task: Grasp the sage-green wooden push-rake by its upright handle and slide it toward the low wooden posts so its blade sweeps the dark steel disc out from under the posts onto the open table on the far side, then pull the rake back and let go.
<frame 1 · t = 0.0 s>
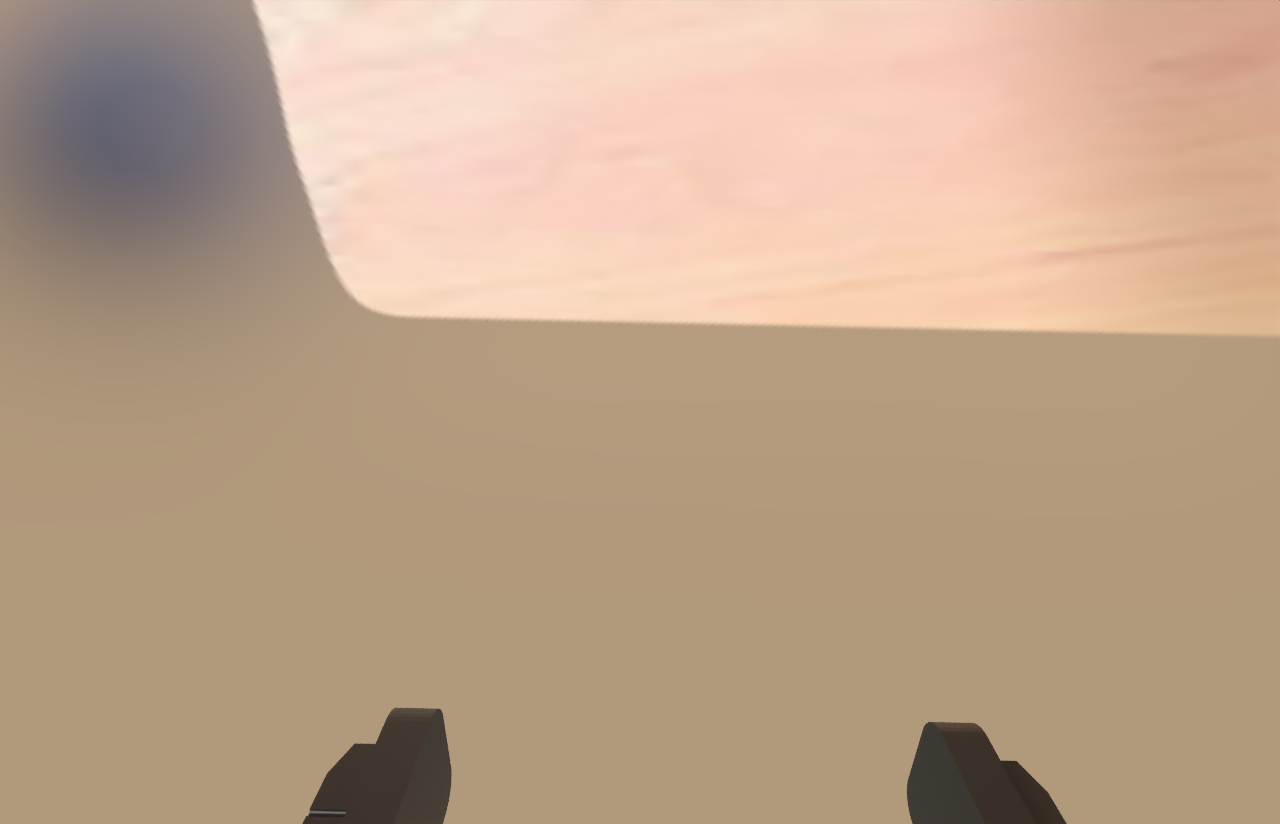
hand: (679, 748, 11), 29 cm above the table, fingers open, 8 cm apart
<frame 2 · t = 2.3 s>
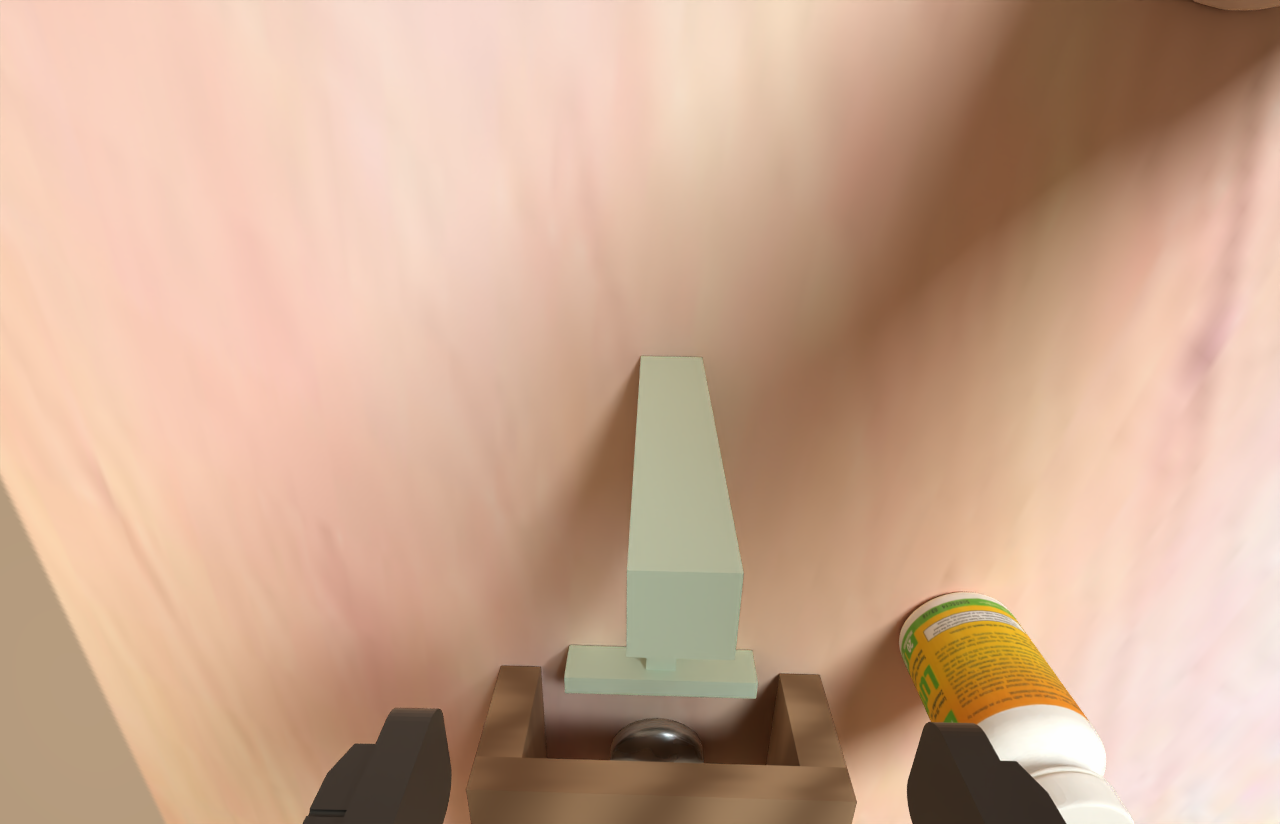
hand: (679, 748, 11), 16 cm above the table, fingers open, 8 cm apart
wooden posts: (657, 732, 34), on the table
rake: (670, 384, 25), on the table
token: (656, 746, 35), on the table
supplement bottle: (951, 629, 31), on the table
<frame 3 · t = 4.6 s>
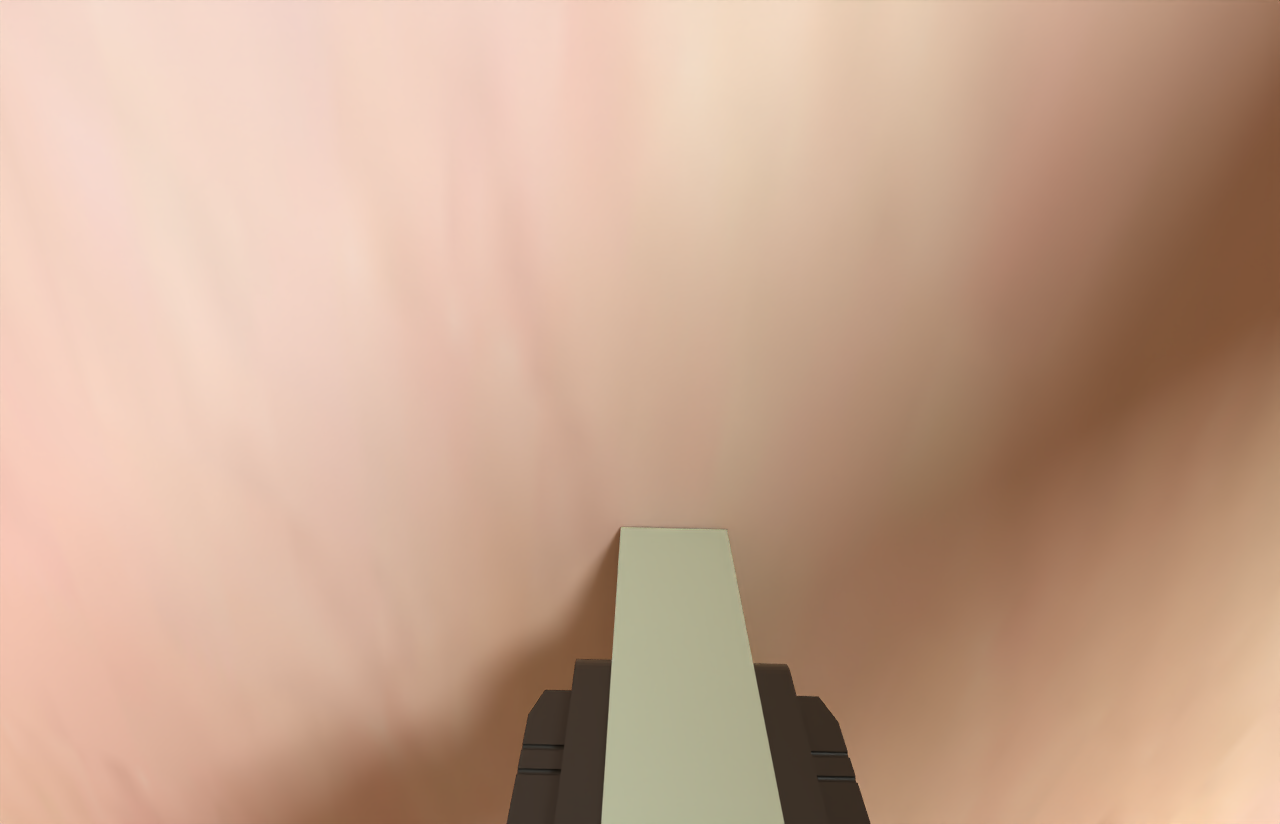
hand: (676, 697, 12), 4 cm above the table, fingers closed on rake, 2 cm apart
rake: (671, 570, 15), on the table, touching gripper
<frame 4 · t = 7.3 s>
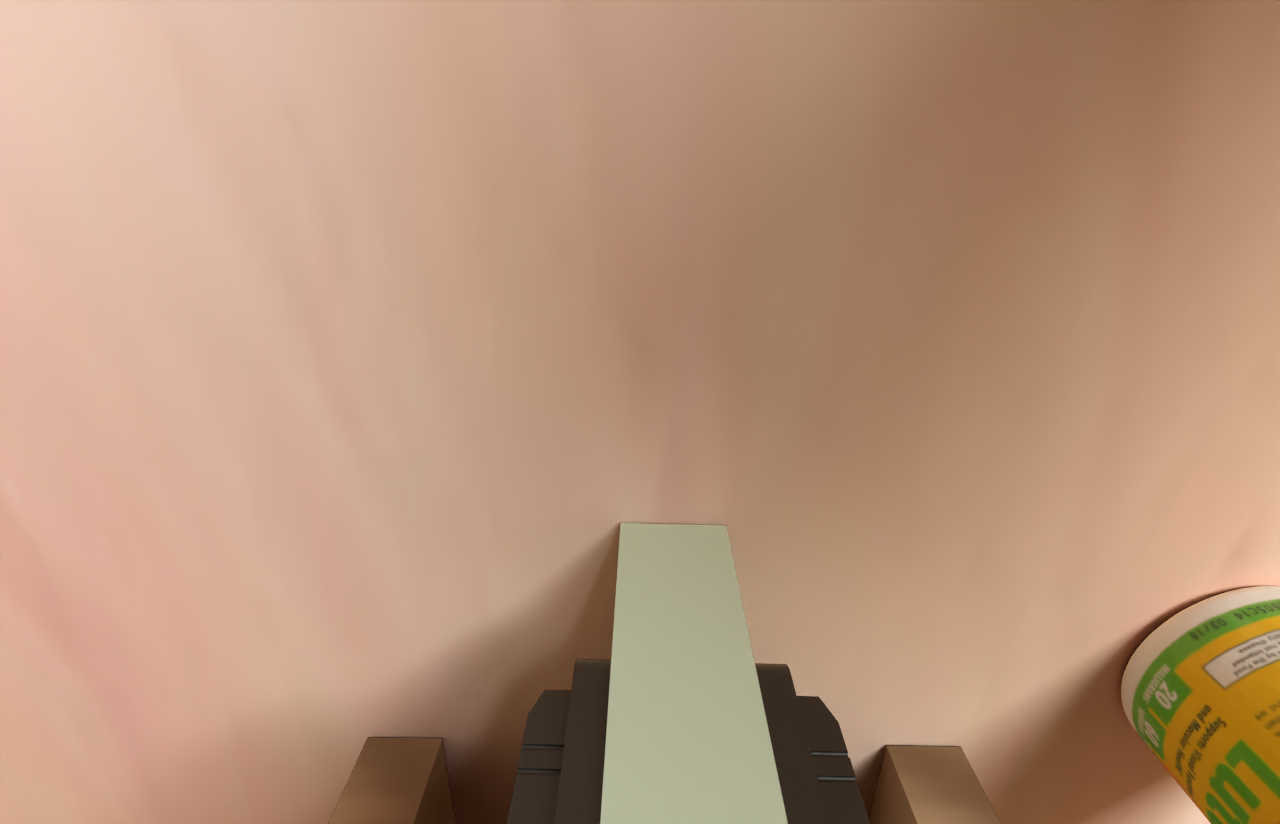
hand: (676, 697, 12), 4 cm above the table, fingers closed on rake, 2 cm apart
rake: (671, 567, 15), on the table, touching gripper, token
supplement bottle: (1218, 658, 16), on the table
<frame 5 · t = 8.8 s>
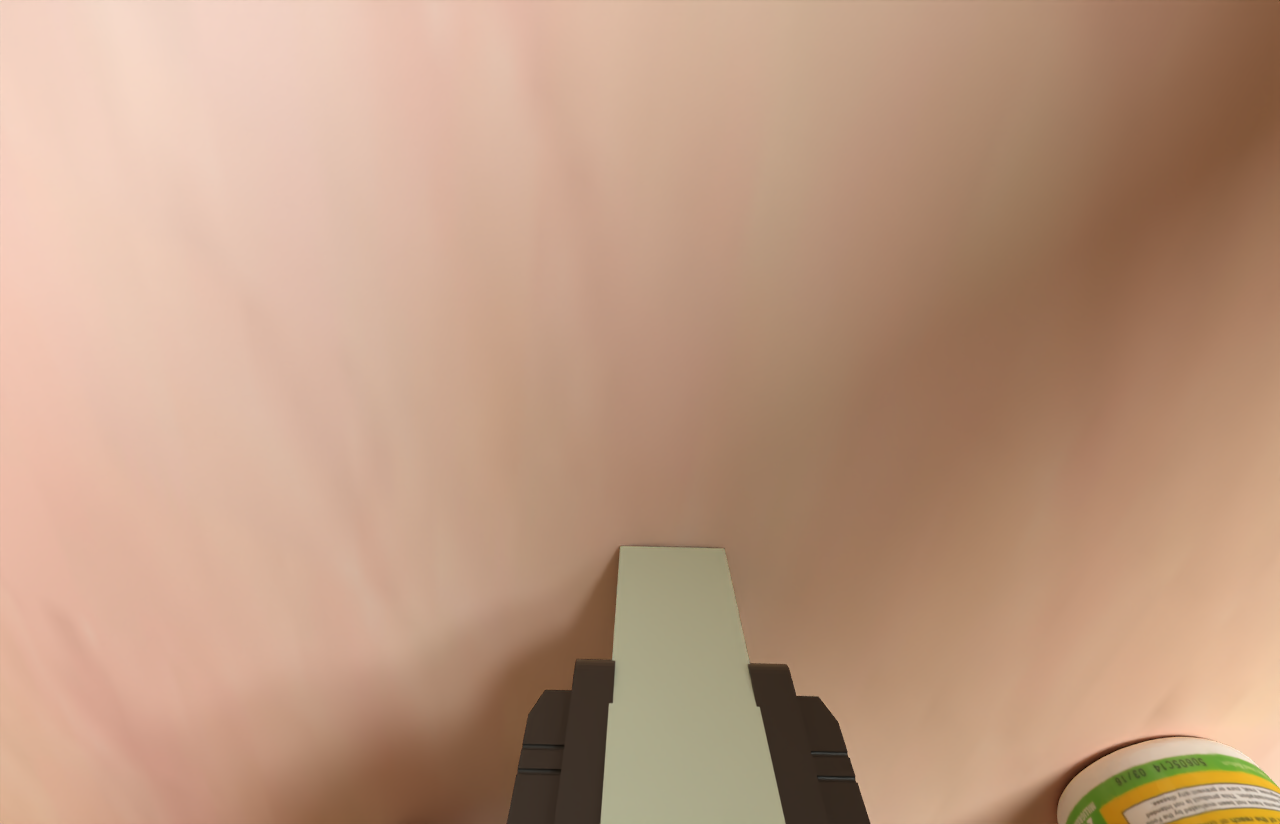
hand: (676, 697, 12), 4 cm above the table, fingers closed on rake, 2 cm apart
rake: (670, 591, 15), on the table, tilted 7°, touching gripper
supplement bottle: (1144, 786, 18), on the table
when the fingers open (4 cm above the table, at t = 9.8 s): rake stays where it is, on the table.
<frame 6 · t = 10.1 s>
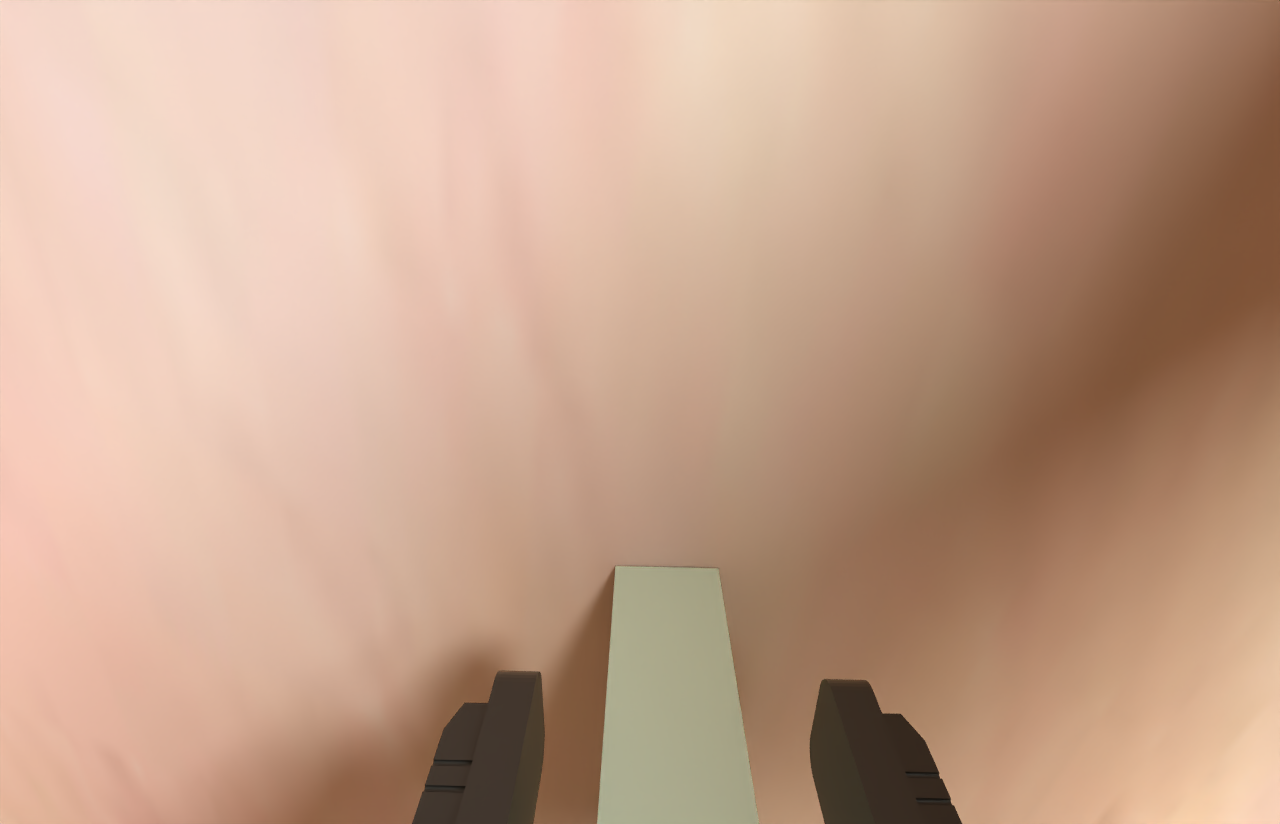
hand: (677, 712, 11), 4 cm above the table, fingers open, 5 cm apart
rake: (665, 607, 15), on the table
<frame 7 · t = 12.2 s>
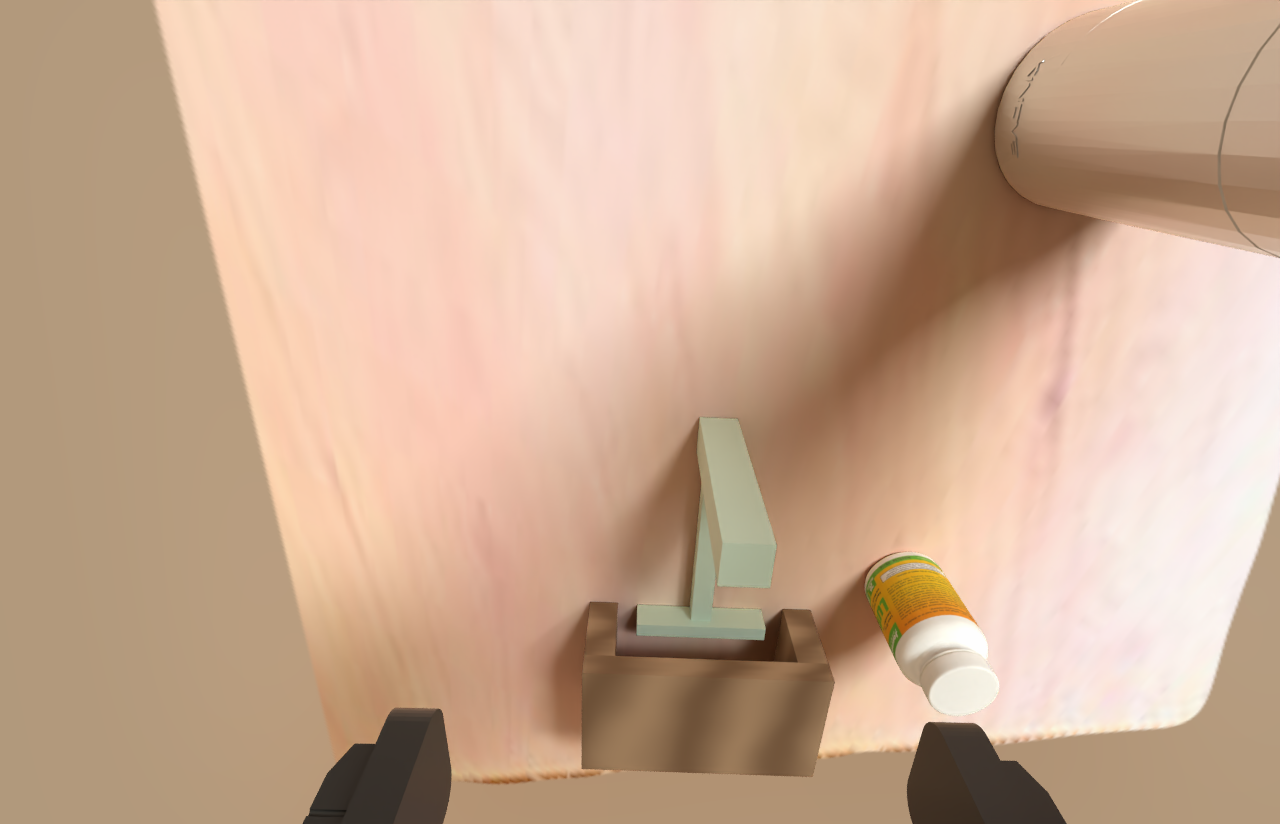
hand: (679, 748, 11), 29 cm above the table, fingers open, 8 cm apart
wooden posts: (695, 652, 48), on the table
rake: (716, 434, 40), on the table
supplement bottle: (900, 578, 45), on the table
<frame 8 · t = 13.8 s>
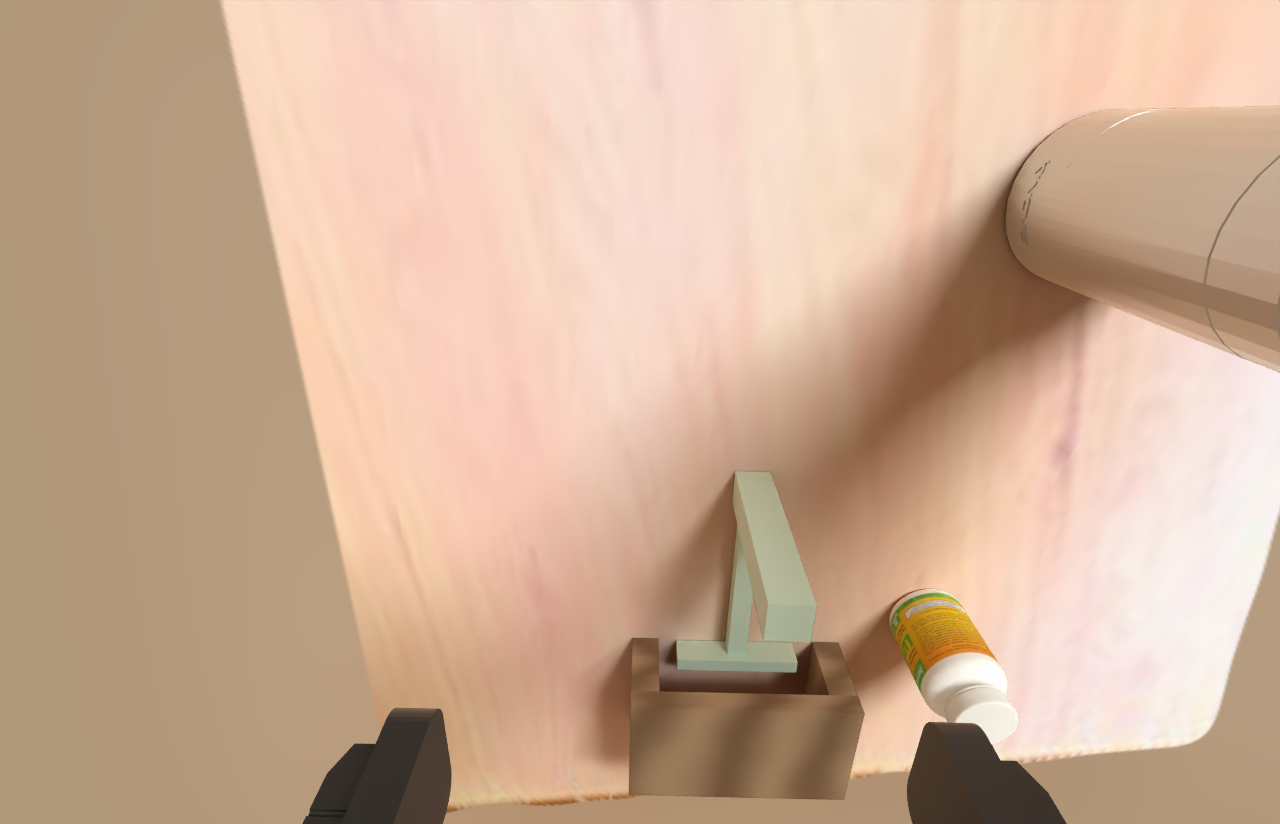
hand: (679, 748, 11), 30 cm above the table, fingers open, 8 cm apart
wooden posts: (730, 682, 51), on the table
rake: (751, 486, 43), on the table
supplement bottle: (922, 612, 48), on the table
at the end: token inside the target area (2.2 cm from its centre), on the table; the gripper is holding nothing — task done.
